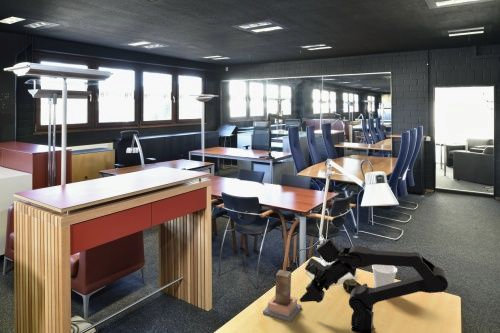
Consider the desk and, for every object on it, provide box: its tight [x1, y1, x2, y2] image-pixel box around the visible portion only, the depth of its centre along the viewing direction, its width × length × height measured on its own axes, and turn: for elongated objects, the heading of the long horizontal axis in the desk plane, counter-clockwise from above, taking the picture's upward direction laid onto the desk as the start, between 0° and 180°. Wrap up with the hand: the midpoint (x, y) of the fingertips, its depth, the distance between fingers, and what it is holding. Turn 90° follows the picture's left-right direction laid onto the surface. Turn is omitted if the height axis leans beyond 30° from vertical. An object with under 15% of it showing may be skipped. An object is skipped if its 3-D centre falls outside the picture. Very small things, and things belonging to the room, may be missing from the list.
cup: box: [371, 265, 398, 288], centre depth 155 cm, size 10×10×11 cm
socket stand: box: [262, 295, 302, 323], centre depth 141 cm, size 11×11×4 cm
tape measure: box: [342, 278, 362, 293], centre depth 157 cm, size 7×7×4 cm
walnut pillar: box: [274, 269, 292, 306], centre depth 140 cm, size 4×4×14 cm
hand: (303, 294), depth 137 cm, fingers open, 9 cm apart
